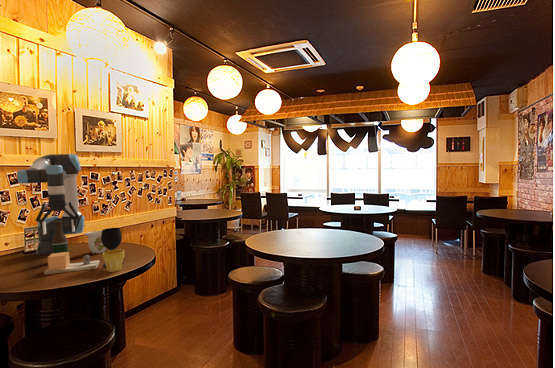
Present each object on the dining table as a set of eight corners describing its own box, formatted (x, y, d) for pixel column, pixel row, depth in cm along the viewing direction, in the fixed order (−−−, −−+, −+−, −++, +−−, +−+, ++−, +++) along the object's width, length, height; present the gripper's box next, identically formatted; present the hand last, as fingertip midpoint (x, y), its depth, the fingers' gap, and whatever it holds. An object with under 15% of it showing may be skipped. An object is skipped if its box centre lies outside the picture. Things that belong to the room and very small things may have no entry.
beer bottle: (61, 262, 197) (58, 222, 195) (50, 262, 198) (46, 222, 197) (71, 259, 204) (69, 219, 203) (61, 258, 206) (58, 219, 204)
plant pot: (119, 265, 185) (118, 248, 185) (129, 269, 179) (127, 250, 178) (100, 270, 178) (98, 252, 177) (109, 274, 171) (107, 255, 170)
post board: (51, 268, 186) (50, 257, 185) (99, 262, 194) (99, 252, 193) (44, 274, 174) (43, 263, 174) (96, 268, 182) (95, 257, 182)
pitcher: (117, 250, 223) (116, 229, 222) (88, 256, 209) (86, 234, 209) (111, 247, 230) (109, 227, 229) (82, 253, 217) (80, 232, 216)
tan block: (53, 266, 184) (52, 253, 184) (69, 264, 187) (69, 251, 187) (48, 270, 177) (47, 257, 177) (66, 268, 180) (65, 255, 179)
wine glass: (127, 262, 192) (125, 227, 191) (113, 267, 182) (110, 231, 181) (113, 261, 195) (111, 227, 194) (98, 266, 186) (96, 230, 184)
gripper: (26, 195, 174) (29, 236, 175) (81, 192, 182) (83, 231, 183) (31, 194, 181) (34, 233, 182) (84, 191, 189) (86, 229, 190)
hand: (59, 232), depth 183 cm, fingers open, 13 cm apart
